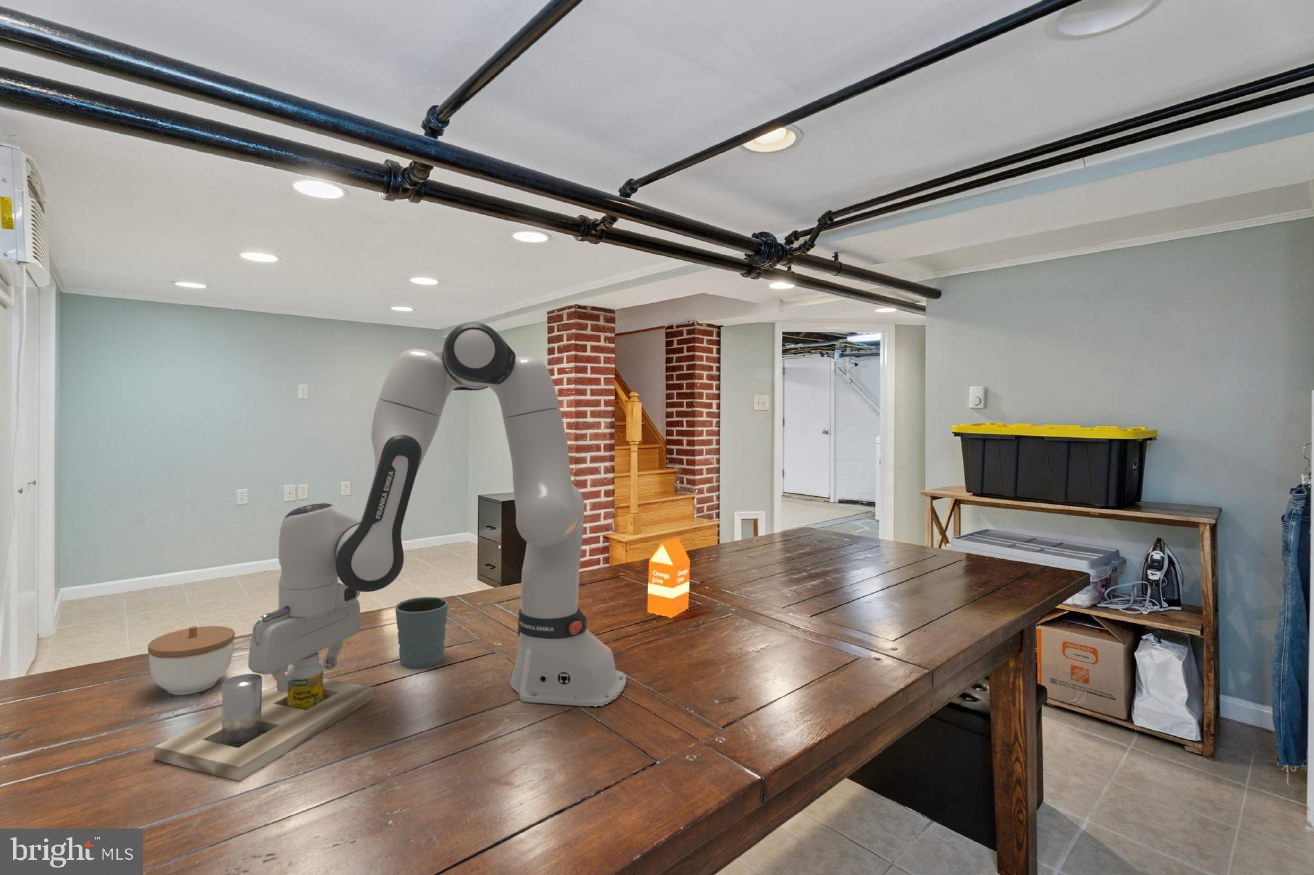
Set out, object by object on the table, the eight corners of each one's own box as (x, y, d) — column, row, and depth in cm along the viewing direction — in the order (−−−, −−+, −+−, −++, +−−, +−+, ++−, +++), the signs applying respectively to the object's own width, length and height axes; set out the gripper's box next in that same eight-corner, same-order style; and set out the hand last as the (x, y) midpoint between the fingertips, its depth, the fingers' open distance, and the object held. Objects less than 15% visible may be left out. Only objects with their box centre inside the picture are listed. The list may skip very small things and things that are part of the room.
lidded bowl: (250, 678, 115) (250, 621, 114) (178, 708, 103) (179, 644, 102) (204, 667, 119) (204, 612, 119) (130, 694, 107) (130, 633, 107)
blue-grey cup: (456, 656, 128) (458, 601, 128) (419, 674, 119) (421, 614, 119) (421, 647, 132) (422, 593, 132) (383, 664, 123) (384, 606, 123)
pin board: (374, 698, 109) (374, 687, 109) (239, 781, 84) (239, 766, 83) (302, 685, 113) (303, 674, 113) (154, 759, 88) (154, 746, 88)
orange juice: (688, 612, 163) (691, 539, 162) (671, 621, 155) (674, 544, 155) (664, 606, 167) (666, 535, 166) (646, 615, 159) (649, 540, 159)
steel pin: (269, 739, 94) (269, 676, 94) (239, 756, 89) (239, 690, 89) (244, 733, 95) (244, 671, 95) (213, 750, 91) (213, 685, 90)
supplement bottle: (321, 699, 107) (322, 646, 107) (324, 712, 103) (325, 657, 103) (286, 706, 105) (287, 652, 104) (287, 720, 100) (288, 663, 100)
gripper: (270, 620, 92) (269, 709, 93) (366, 585, 112) (366, 658, 113) (237, 616, 94) (237, 703, 94) (338, 582, 114) (338, 654, 114)
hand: (308, 678), depth 104 cm, fingers open, 8 cm apart
